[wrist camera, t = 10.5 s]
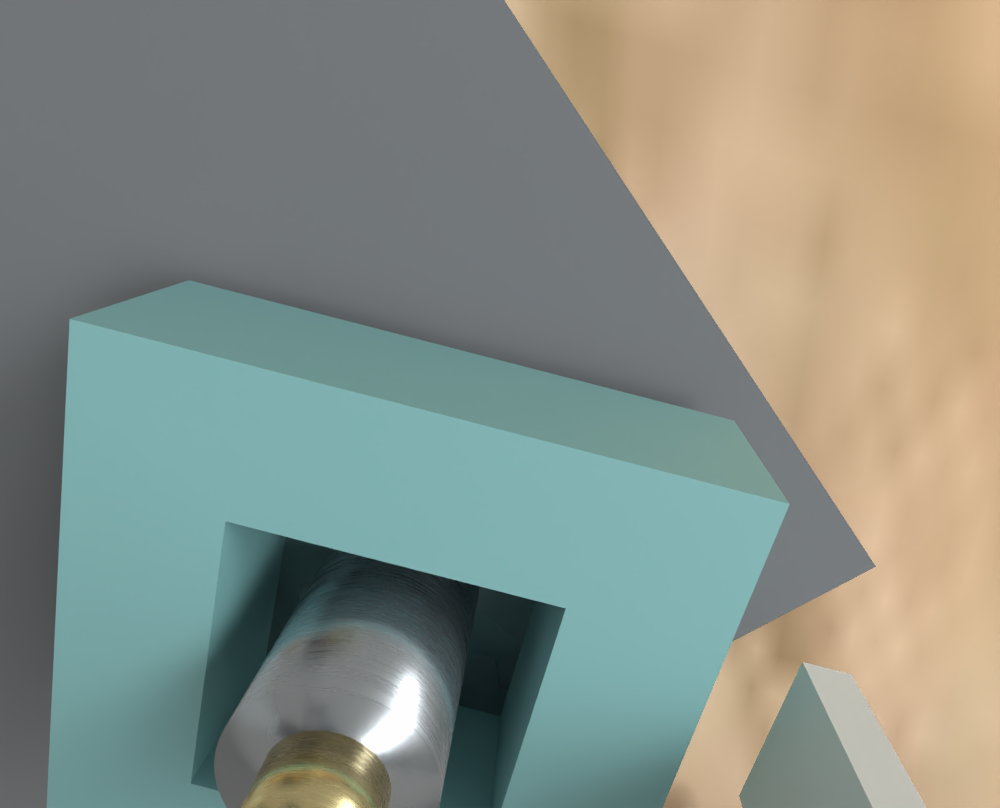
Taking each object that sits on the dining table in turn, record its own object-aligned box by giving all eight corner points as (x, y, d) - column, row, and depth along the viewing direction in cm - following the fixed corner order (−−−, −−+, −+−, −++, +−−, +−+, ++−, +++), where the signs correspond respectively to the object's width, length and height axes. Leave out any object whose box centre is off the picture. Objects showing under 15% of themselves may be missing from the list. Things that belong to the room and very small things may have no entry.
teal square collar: (144, 717, 15) (44, 852, 12) (188, 280, 12) (70, 318, 9) (580, 828, 15) (585, 989, 12) (734, 420, 12) (789, 504, 9)
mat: (-651, 458, 16) (-710, 472, 16) (143, -544, 10) (109, -602, 9) (4, 999, 21) (-16, 1032, 20) (858, 544, 14) (876, 566, 13)
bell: (126, 502, 14) (-203, 763, 8) (451, 260, 12) (340, 362, 6) (383, 778, 16) (271, 1167, 10) (703, 604, 14) (818, 955, 8)
